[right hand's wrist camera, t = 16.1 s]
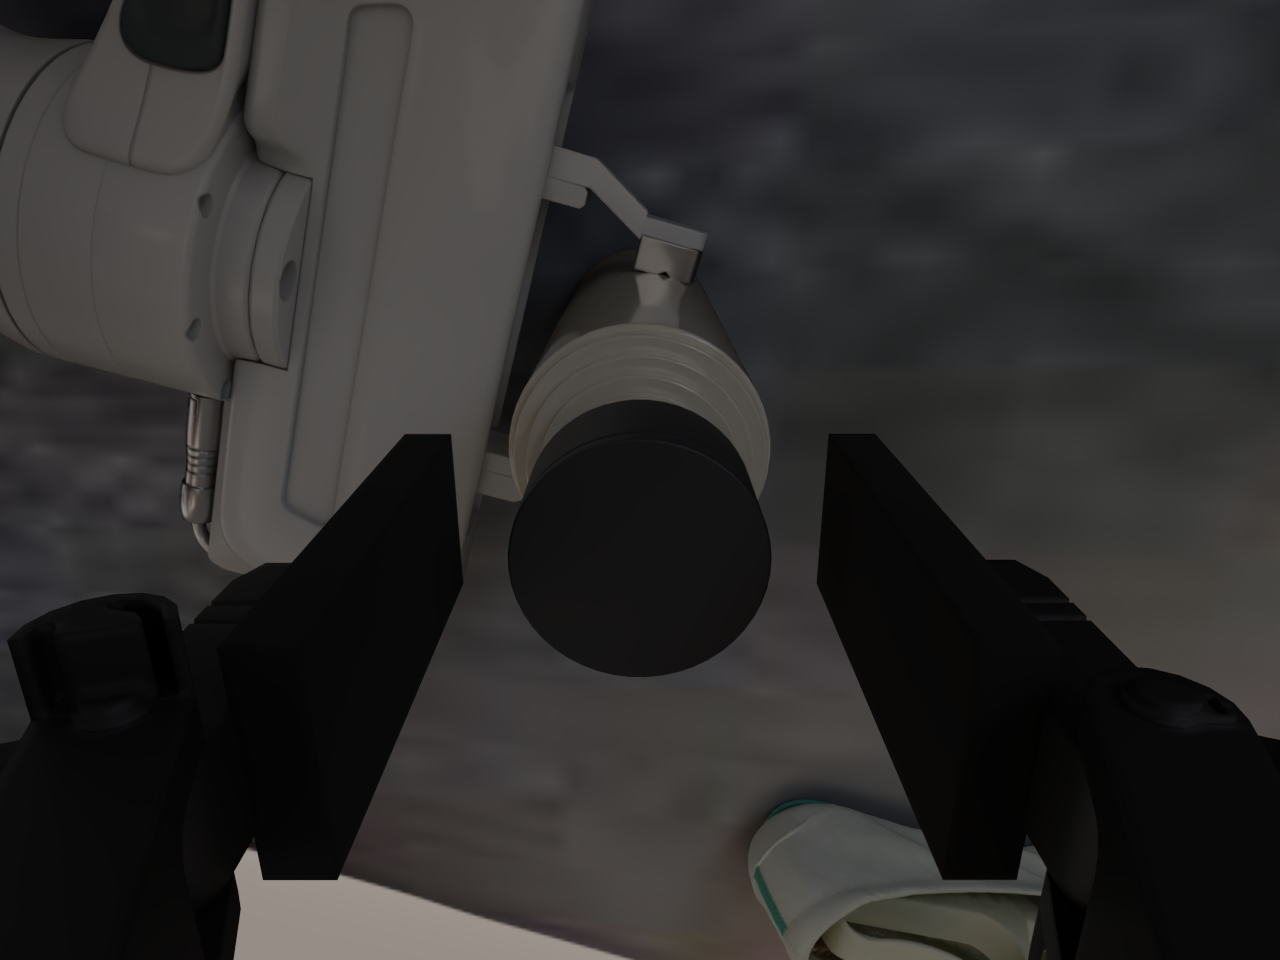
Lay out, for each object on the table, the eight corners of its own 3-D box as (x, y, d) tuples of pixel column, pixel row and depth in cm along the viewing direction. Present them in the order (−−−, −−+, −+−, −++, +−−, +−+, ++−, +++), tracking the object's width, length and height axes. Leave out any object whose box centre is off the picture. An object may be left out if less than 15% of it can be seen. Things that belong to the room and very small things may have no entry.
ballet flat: (1187, 975, 43) (1301, 1144, 35) (719, 896, 41) (737, 1056, 34) (1264, 848, 40) (1405, 1002, 33) (765, 757, 38) (795, 899, 31)
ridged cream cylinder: (667, 221, 30) (713, 310, 12) (734, 348, 32) (871, 609, 13) (542, 293, 31) (394, 488, 12) (613, 414, 33) (578, 747, 14)
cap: (490, 552, 15) (466, 615, 13) (587, 357, 13) (578, 392, 11) (686, 640, 15) (693, 714, 13) (794, 461, 14) (821, 512, 12)
